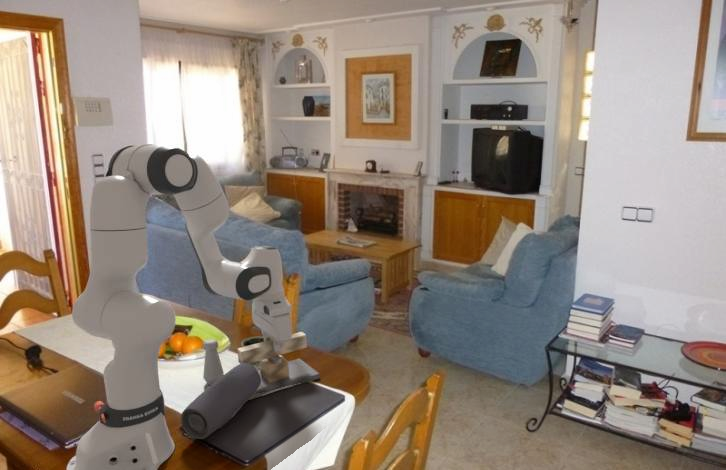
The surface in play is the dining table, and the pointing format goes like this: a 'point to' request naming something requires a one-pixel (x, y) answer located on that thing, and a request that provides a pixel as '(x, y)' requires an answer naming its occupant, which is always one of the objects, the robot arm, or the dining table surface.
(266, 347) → the birch batten
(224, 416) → the bluetooth speaker
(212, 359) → the salt shaker
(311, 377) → the ridge stand
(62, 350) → the dining table surface
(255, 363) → the vessel
